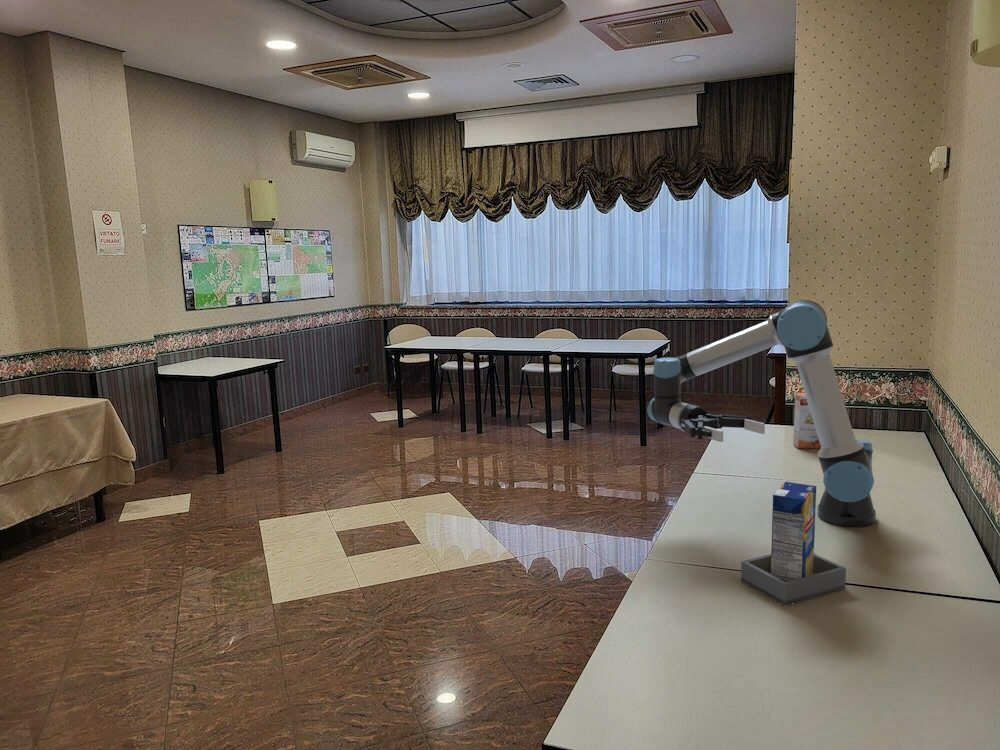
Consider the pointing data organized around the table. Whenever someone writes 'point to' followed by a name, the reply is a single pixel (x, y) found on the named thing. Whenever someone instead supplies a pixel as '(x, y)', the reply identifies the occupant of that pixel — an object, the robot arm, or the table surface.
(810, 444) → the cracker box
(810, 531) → the beverage box
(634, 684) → the table surface
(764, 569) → the tray
